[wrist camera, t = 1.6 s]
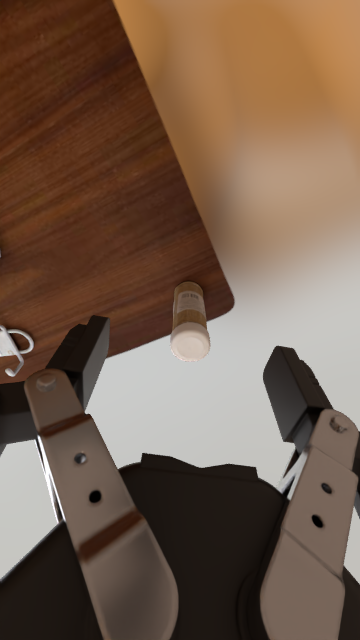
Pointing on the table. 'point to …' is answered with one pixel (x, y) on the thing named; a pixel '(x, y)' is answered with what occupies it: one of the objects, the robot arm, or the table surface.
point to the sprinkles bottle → (189, 323)
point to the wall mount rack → (12, 347)
